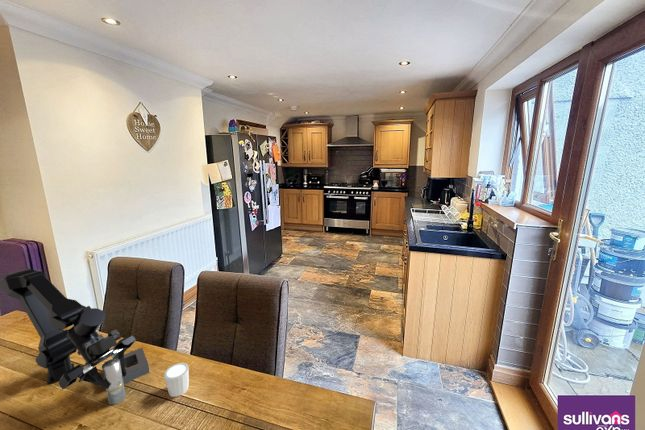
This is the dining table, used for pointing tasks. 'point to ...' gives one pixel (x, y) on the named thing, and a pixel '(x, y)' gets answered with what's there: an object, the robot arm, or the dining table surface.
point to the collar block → (137, 369)
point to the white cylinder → (177, 379)
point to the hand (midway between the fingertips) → (117, 381)
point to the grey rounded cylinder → (114, 381)
